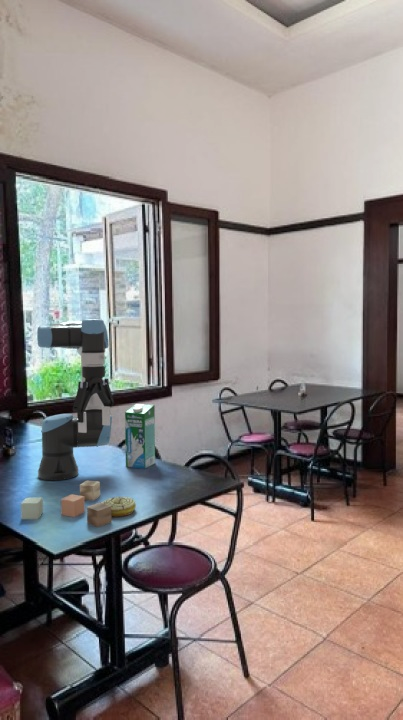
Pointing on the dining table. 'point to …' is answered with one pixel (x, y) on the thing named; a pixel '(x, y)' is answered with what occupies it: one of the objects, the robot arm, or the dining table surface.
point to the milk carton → (140, 436)
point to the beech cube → (90, 490)
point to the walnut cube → (98, 514)
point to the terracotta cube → (72, 505)
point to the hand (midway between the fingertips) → (94, 428)
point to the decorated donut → (120, 505)
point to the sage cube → (31, 508)
